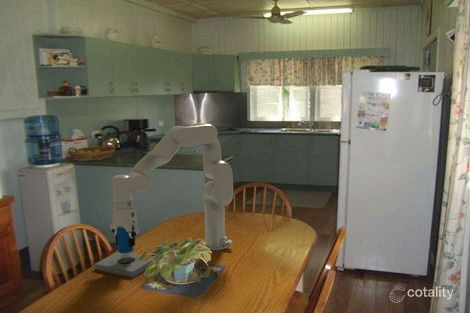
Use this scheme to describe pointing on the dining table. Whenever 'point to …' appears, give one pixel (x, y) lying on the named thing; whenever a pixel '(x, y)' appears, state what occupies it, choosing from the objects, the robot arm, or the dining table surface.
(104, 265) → the socket board
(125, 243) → the beverage can
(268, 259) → the dining table surface
